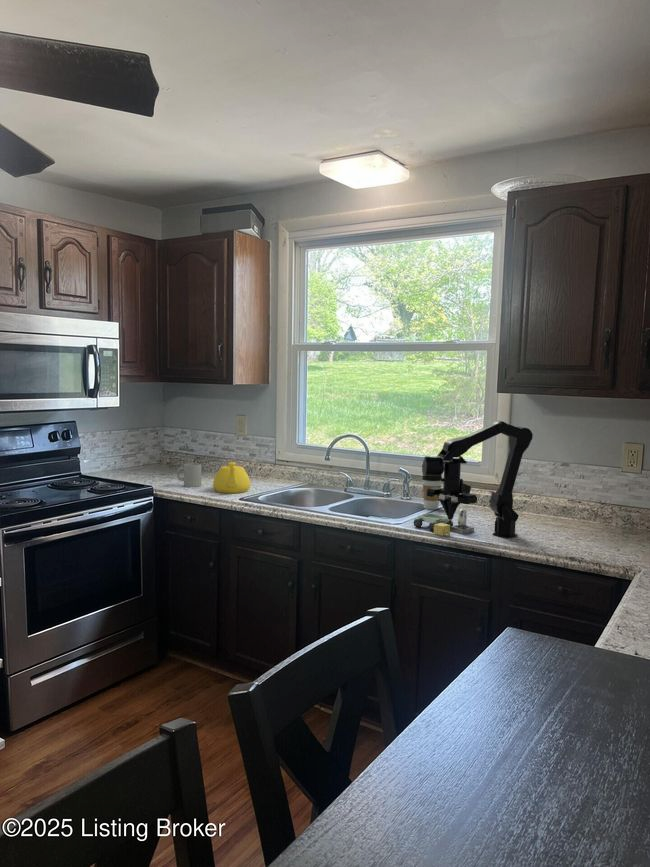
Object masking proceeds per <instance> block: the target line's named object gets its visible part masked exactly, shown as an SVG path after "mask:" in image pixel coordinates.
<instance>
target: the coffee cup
mask: <svg viewBox="0 0 650 867" xmlns="http://www.w3.org/2000/svg"><path fill="white" fill-rule="evenodd" d="M442 475H443V474H441V475H440V476H424V475H423V474H422V477H421V479H422V482H423V483H422V490H423V491H422V492H423V495H422V496H423V508H424V509H426V510H438V509H439V502H440V501H438V499H440V496H439V495H434V496H433V497H429V496H427V490H428V488H434V487H438V488H442V483H441V482H442V481H441V478H443V477H442Z"/></svg>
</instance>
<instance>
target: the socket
mask: <svg viewBox="0 0 650 867" xmlns="http://www.w3.org/2000/svg"><path fill="white" fill-rule="evenodd" d="M453 531H454V533H457V534H461V533H462V534H461V535H465V534H469V533H474V532H475V527H473V526H471V525H466V528H464V529H462V528H458V524H455V525H454V524H453V526H450V532H453Z"/></svg>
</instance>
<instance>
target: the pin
mask: <svg viewBox="0 0 650 867" xmlns="http://www.w3.org/2000/svg"><path fill="white" fill-rule="evenodd" d="M457 514H458V515H457V516H458V517H457V518H458V519H457V520H458V521H457V525H458V528H462V529H464V528H466V526H467V518H468V510H467V508H458V512H457Z"/></svg>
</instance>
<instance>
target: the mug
mask: <svg viewBox="0 0 650 867" xmlns="http://www.w3.org/2000/svg"><path fill="white" fill-rule="evenodd" d="M177 468H178V469H177V470H176V477H177V480H178V481H181V482H183V487H184V486H185V488H190V487H194V488H201V487H200V486H202V463H197V462H189V463H184V464H183V466H181V467H177ZM180 471H183V477H181V476H180Z"/></svg>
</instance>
